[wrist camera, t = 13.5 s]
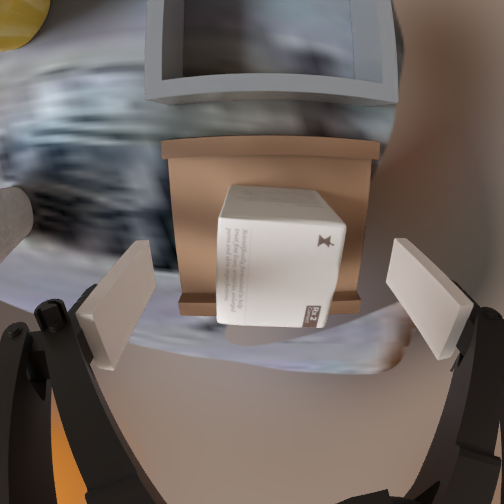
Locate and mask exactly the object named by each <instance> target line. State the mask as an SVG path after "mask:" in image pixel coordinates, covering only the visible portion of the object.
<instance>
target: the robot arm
mask: <svg viewBox="0 0 504 504" xmlns="http://www.w3.org/2000/svg"><path fill="white" fill-rule="evenodd" d="M386 283H387V284H388V286H389V287H390V289H391V290H392V291H393V293H394V294H395V296H396V297H397V299H398V300H399V302H400V303H401V304H402V306H403V307H404V309H405V310H406V312H407V313H408V315H409V316H410V318H411V319H412V321H413V322H414V324H415V325H416V327H417V328H418V330H419V331H420V333H421V334H422V336H423V338H424V339H425V340H426V342H427V344H428V345H429V347H430V349H431V350H432V352H433V353H434V355H435V357H436V358H437V360H441V359H445V358H450V357H451V356H452V354H453V352H454V350H455V347H457V348H458V349H459V351H460V353H459V355H458V357H457V359H456V361H455V363H454V365H453V367H452V368H451V370H450V371H451V372H452V371H453V369H454V372H453V377H452V381H451V385H450V388H449V392H448V396H447V399H446V402H445V406H444V409H443V412H442V415H441V418H440V421H439V424H438V427H437V430H436V433H435V436H434V438H433V441H432V443H431V446H430V449H429V451H428V454H427V456H426V458H425V461H424V463H423V465H422V467H421V470H420V472H419V474H418V476H417V478H416V480H415V482H414V484H413V486H412V487H411V489H410V490H409V491H408V492H407V494H406V495H405V496H404V498H403V497H393V496H389V492H388V490H387V489H386V490H382V491H378V492H374V493H370V494H366V495H361V496H356V497H351V498H349V499H346V500H344V501H342V502H339V503H337V504H491V502H492V499H493V495H494V492H495V488H496V485H497V481H498V477H499V473H500V468H501V459H500V457H497V456H494V450H495V445H496V440H497V434H498V428H499V421H500V428H501V444H502V483H501V504H504V319H503V318H502V316H501V315H500V313H498V312H497V311H496V310H494V309H492V308H489V307H482V308H481V307H480V306H479V305H478V304H477V303H476V302H475V301H474V300H473V299H472V298H471V297H470V296H469V295H468V294H467V293H466V292H465V291H464V290H462V288H461V287H460V286H459V285H458V284H457V283H456V282H455V281H453V280H451V279H450V278H448V277H447V276H446V275H445V274H444V273H443V272H442V271H441V270H440V269H439V268H438V267H437V266H436V265H435V264H434V263H432V262H431V261H430V260H429V259H428V258H427V257H426V256H425V255H424V254H423V253H422V252H421V251H420V250H419V249H418V248H416V247H415V246H414V245H413V244H412V243H411V242H410V241H409V240H407V239H406V238H394V243H393V249H392V254H391V260H390V265H389V270H388V274H387V279H386ZM156 286H157V285H156V280H155V275H154V269H153V263H152V258H151V251H150V245H149V240H136V241H135V242H134V243H133V244H132V245H131V246H130V247H129V249H128V250H127V251H126V252H125V253H124V254H123V255H122V256H121V258H120V259H119V260H118V261H117V262H116V263H115V265H114V266H113V267H112V268H111V269H110V270H109V272H108V273H107V274H106V275H105V276H104V278H103V279H102V280H101V281H100V282H99V284H94V285H92V286H91V287H89V288H88V289H86V291H85V292H84V293H83V294H82V295H81V297H80V298H79V299H78V300H77V302H76V303H75V304H74V305H73V306H72V308H71V309H70V310H69V311H68V313H67V310H66V307H65V304H64V302H63V301H62V300H60V299H50V300H47V301H45V302H43V303H41V304H40V305H38V306H37V308H36V309H35V311H34V315H35V318H36V320H37V322H38V324H39V327H40V329H41V331H35V332H30V330H29V328H28V326H27V325H26V323H23V322H18V323H13V324H11V325H10V326H8V328H7V329H5V331H4V332H3V335H2V337H1V341H0V504H57V498H56V491H55V483H54V476H53V464H52V448H51V388H53V392H54V396H55V400H56V404H57V407H58V411H59V414H60V418H61V421H62V424H63V427H64V431H65V434H66V436H67V439H68V442H69V445H70V448H71V451H72V453H73V456H74V458H75V461H76V463H77V466H78V468H79V471H80V473H81V475H82V478H83V480H84V482H85V484H86V487H87V491H88V492H87V493H86V494H85V499H86V501H87V504H167V503H166V502H165V500H164V499H163V498H162V496H161V495H160V493H159V492H158V491H157V489H156V488H155V486H154V485H153V483H152V482H151V480H150V479H149V477H148V476H147V474H146V473H145V471H144V470H143V468H142V466H141V465H140V463H139V462H138V460H137V458H136V457H135V455H134V453H133V452H132V450H131V448H130V446H129V445H128V443H127V441H126V440H125V438H124V436H123V434H122V432H121V430H120V428H119V427H118V424H117V423H116V421H115V419H114V417H113V415H112V413H111V411H110V409H109V406H108V404H107V402H106V400H105V398H104V396H103V394H102V392H101V389H100V387H99V385H98V382H97V380H96V378H95V375H94V373H93V370H92V368H91V366H90V363H91V361H92V359H93V358H94V360H95V362H96V364H97V367H98V368H101V369H108V370H115V368H116V366H117V363H118V361H119V359H120V357H121V355H122V353H123V351H124V349H125V347H126V344H127V342H128V340H129V338H130V336H131V334H132V332H133V330H134V328H135V326H136V324H137V322H138V320H139V318H140V316H141V314H142V312H143V310H144V309H145V307H146V305H147V303H148V301H149V299H150V297H151V295H152V293H153V291H154V289H155V288H156Z"/></svg>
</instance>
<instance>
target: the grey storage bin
mask: <svg viewBox="0 0 504 504" xmlns="http://www.w3.org/2000/svg"><path fill="white" fill-rule="evenodd" d="M184 1H185V0H148V4H147V17H146V35H145V100H147V101H152V102H157V103H161V104H166V105H178V104H188V103H200V102H214V101H235V100H292V101H313V102H327V103H338V104H348V105H357V106H365V107H370V106H378V105H386V104H395V103H398V68H397V52H396V40H395V30H394V21H393V13H392V6H391V0H349V2H350V12H351V23H352V35H353V51H354V75H355V79H348V78H340V77H330V76H319V75H305V74H282V73H242V74H220V75H205V76H194V77H185V78H183V29H184Z"/></svg>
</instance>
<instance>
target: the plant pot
mask: <svg viewBox="0 0 504 504" xmlns="http://www.w3.org/2000/svg"><path fill="white" fill-rule="evenodd" d="M49 8H50V0H0V52H1V51H7V50H14V49H17V48H20V47H22V46H24V45H25V44H26V43H28V42H29V41H30V40H31V39H32V38H33V37H34V36H35V34H36V33H37V32H38V30H39V29H40V28H41V26H42V24H43V23H44V21H45V19H46V16H47V14H48V11H49Z"/></svg>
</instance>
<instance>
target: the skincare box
mask: <svg viewBox="0 0 504 504" xmlns="http://www.w3.org/2000/svg"><path fill="white" fill-rule="evenodd" d="M345 235H346V224H345V223H344V222H343V221H342V219H341V218H340V217H339V216H338V215H337V214H336V213H335V211H334V210H333V209H332V208H331V207H330V206H329V205H328V203H327V202H326V201H325V200H324V199H323V198H322V197H321V195H320V194H319V193H318V192H317V191H316V190H308V189H294V188H279V187H262V186H245V185H230V187H229V190H228V192H227V195H226V198H225V201H224V204H223V207H222V209H221V212H220V215H219V217H218V230H217V260H216V312H217V322H218V323H222V324H232V325H233V324H234V325H248V326H249V325H250V326H277V327H314V328H322V327H324V326H325V324H326V321H327V317H328V314H329V310H330V306H331V302H332V298H333V294H334V291H335V288H336V285H337V281H338V275H339V268H340V263H341V258H342V252H343V247H344V241H345Z"/></svg>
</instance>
